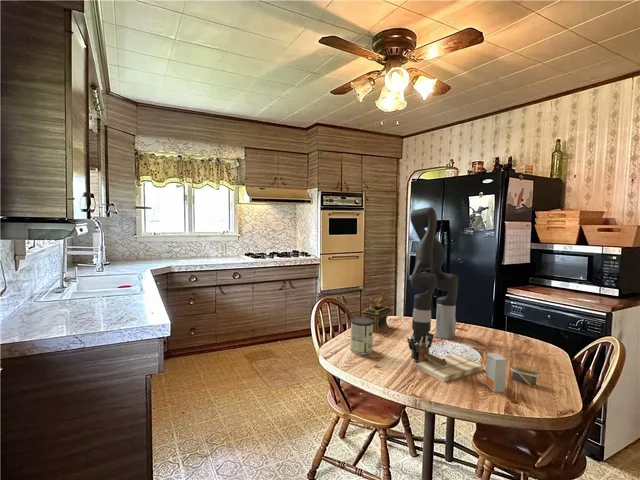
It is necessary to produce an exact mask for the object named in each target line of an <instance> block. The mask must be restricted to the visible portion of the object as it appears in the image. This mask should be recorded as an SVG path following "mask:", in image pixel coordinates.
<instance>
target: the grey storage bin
mask: <svg viewBox="0 0 640 480" xmlns="http://www.w3.org/2000/svg"><path fill="white" fill-rule="evenodd" d="M509 370H511V371H512V380H513V381H517V382H520V383H521V382H522V383H525V384H528V385H529V386H532V385H534V386H537V378H538V377H539V376H540V375H541V372H539V371H535V368H531V367H530V366H525V365H524V366H523V365H520V364H517V367H515V366H510V367H509Z"/></svg>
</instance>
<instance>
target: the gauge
mask: <svg viewBox="0 0 640 480" xmlns="http://www.w3.org/2000/svg"><path fill="white" fill-rule="evenodd" d="M417 344H418V343H417ZM416 348H417V346H416ZM410 351H411V352H410V353H411V354H410V357H411V359H413V360H414V361H417V363H420V362H424V361H428V360H431V361H433V362H435V363H438V364H440V365H442V366H446V365H447V361H445V359H443V360H442V359H440V358H439V357H438V356H435V355H433V354H431V353H430V348H429V347H427V346H424V345H421V347H419V351H418V352H419V358H418V360H415V359H414V358H413V350H410Z"/></svg>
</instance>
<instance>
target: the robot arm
mask: <svg viewBox="0 0 640 480" xmlns="http://www.w3.org/2000/svg"><path fill="white" fill-rule="evenodd" d="M409 215H410V216H409V218H410V222H411V225H412V227H413V230H414V231H415V234H416V235H417V237H418V239H419V243H418V245H417V247H416V249H415V263H414V264H415V265H414V268H413V271H412V274H411V276H410V285H411V287H412V288H414V289H417V290H426V291H425V292H423V293H418V294H415V295H414V298H413V310H412V319H411V320H412V321H411V323H412V324H411V330H412V331H413V333H412V335H411V336H408V337H407V344H408V347H409V350H410V351H412V350H413V358H414V359H415V360H414V359H413V360H414V361H416V360H418V358H419V352H418V351H419V347H421V345H424V346H427V347H429V349H430V348H432V343H433V340H434V336H435V337H436V338H440V339H443V340H444V339H445V340H452V339H454V338H455V337H456V328H457V327H456V325H457V319H456V303H457V298H458V290H459V277H458V276H457V275H456V274H455V273H454V274H453V273H447V272H443V271H442V268H441V267H442V265H443V264H444V262H445V259H446V252H445V249H444V246H443V243H442V242H441V241H440V240H439V239H437V238H436V236H435V235H436V229H437V221H438V219H437V218H438V215H437V212H436V210H435V209H434V207H432V206H431V207H430V206H429V207H423V208H417V209H413V210H412V211H410V213H409ZM427 270H430V271H431V272H424V271H427ZM422 271H423V272H422ZM435 289H437V290H439V291H444V292H447V294H446V295H445V296H439V297H437V299H436V312H435V313H436V319H435V334H433V333H431V332H430V331H431V326H432V298H433V294H434V292H435ZM417 343H418V344H417ZM416 346H417V348H416Z"/></svg>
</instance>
